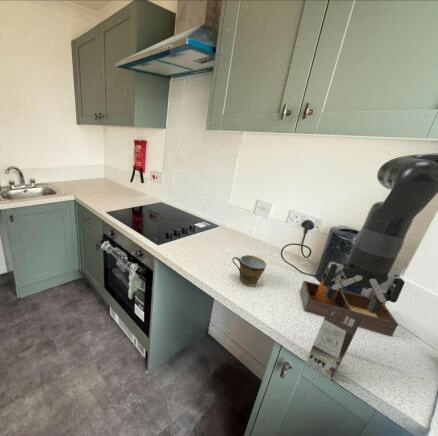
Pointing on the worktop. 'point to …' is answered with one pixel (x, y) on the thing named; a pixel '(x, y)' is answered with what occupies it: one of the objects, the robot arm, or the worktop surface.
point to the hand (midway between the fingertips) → (349, 305)
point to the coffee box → (332, 341)
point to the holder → (350, 308)
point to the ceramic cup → (250, 269)
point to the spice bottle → (323, 294)
